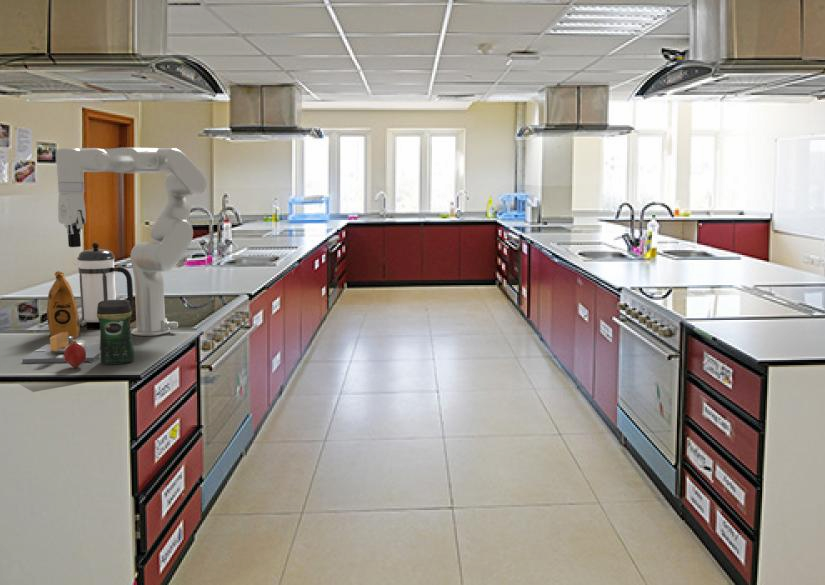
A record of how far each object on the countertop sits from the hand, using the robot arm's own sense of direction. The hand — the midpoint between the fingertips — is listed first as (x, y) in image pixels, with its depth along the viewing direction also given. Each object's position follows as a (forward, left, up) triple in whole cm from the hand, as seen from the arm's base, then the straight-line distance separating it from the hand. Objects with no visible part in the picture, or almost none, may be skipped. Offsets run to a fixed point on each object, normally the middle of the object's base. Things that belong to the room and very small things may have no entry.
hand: (74, 246), depth 250 cm
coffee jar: (-17, +23, -32) cm, 43 cm away
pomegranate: (-7, +29, -32) cm, 44 cm away
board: (0, +12, -32) cm, 34 cm away
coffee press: (+3, -39, -32) cm, 51 cm away
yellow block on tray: (0, +14, -31) cm, 34 cm away
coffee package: (+10, -16, -32) cm, 37 cm away
